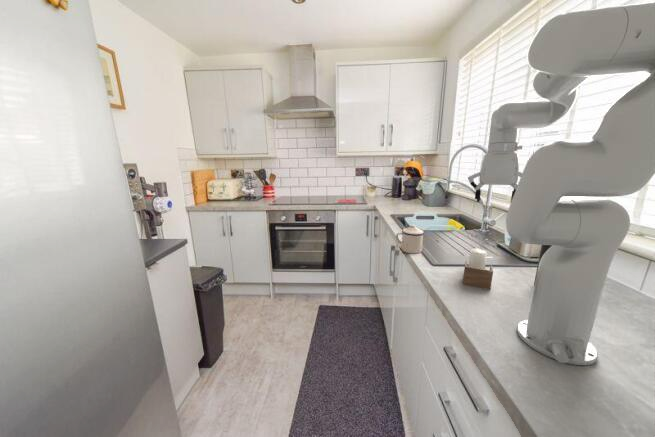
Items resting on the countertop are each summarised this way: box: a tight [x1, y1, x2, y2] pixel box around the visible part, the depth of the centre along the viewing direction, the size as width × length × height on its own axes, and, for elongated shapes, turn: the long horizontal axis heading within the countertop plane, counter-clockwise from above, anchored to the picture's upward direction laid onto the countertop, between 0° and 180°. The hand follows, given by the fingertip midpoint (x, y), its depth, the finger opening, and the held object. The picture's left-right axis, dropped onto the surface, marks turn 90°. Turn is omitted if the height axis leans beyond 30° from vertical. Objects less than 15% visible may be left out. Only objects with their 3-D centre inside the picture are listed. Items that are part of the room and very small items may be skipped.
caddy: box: [462, 260, 494, 291], centre depth 77 cm, size 5×7×6 cm
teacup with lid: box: [395, 224, 425, 255], centre depth 107 cm, size 12×9×12 cm
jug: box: [467, 247, 488, 269], centre depth 86 cm, size 8×5×8 cm, turn 150°
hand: (494, 202), depth 81 cm, fingers open, 9 cm apart
